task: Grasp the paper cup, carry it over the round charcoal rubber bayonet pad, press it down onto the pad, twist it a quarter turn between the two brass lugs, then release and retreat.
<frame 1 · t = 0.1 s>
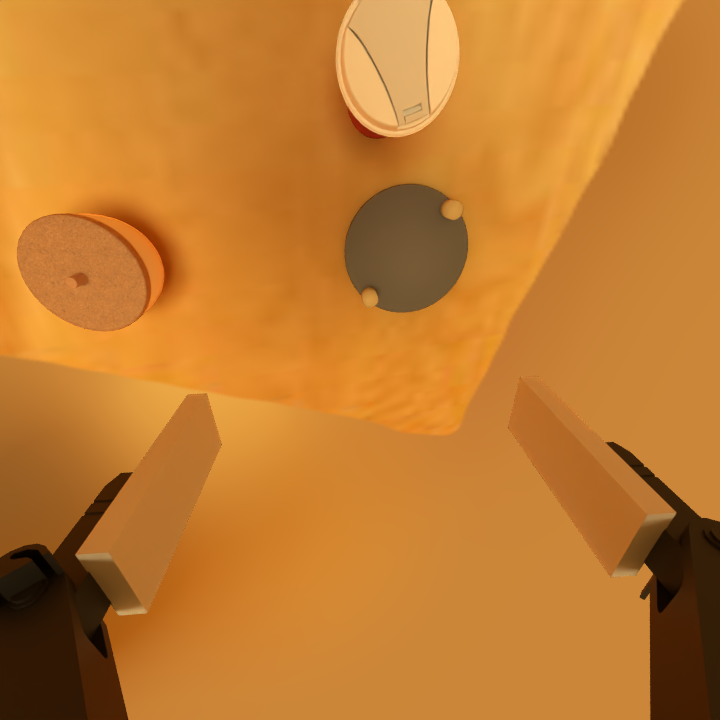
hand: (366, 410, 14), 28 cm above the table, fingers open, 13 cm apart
paper cup: (376, 103, 32), on the table
lidded jar: (130, 259, 37), on the table
bayonet pad: (405, 252, 38), on the table
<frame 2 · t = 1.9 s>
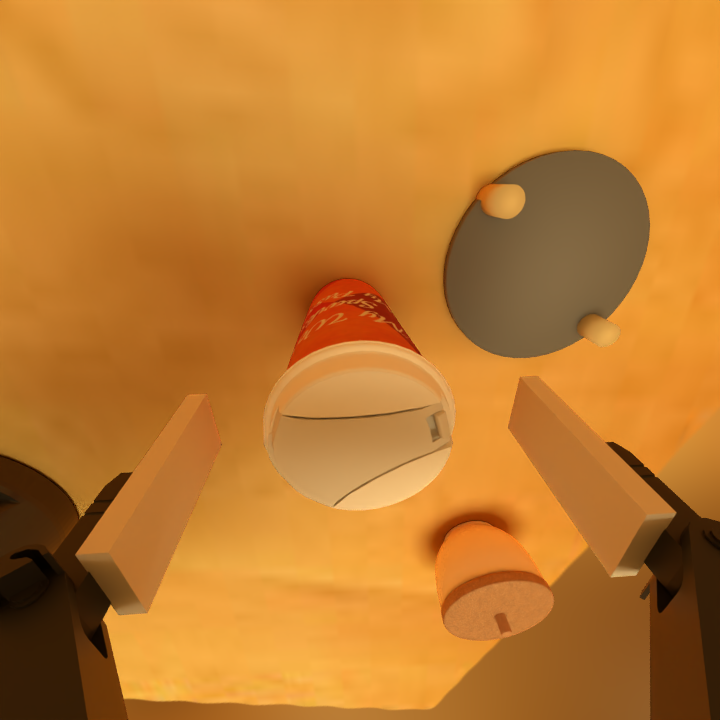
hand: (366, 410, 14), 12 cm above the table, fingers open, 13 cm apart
paper cup: (346, 314, 25), on the table
lidded jar: (469, 536, 39), on the table
bayonet pad: (540, 266, 24), on the table
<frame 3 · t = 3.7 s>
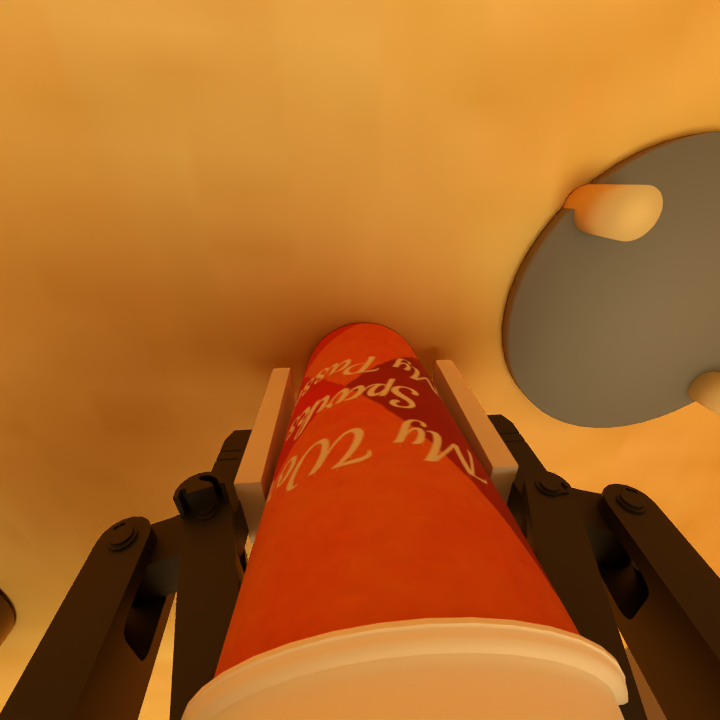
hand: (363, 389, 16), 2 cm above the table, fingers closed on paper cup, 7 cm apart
paper cup: (360, 370, 17), on the table, touching gripper
bayonet pad: (644, 304, 16), on the table
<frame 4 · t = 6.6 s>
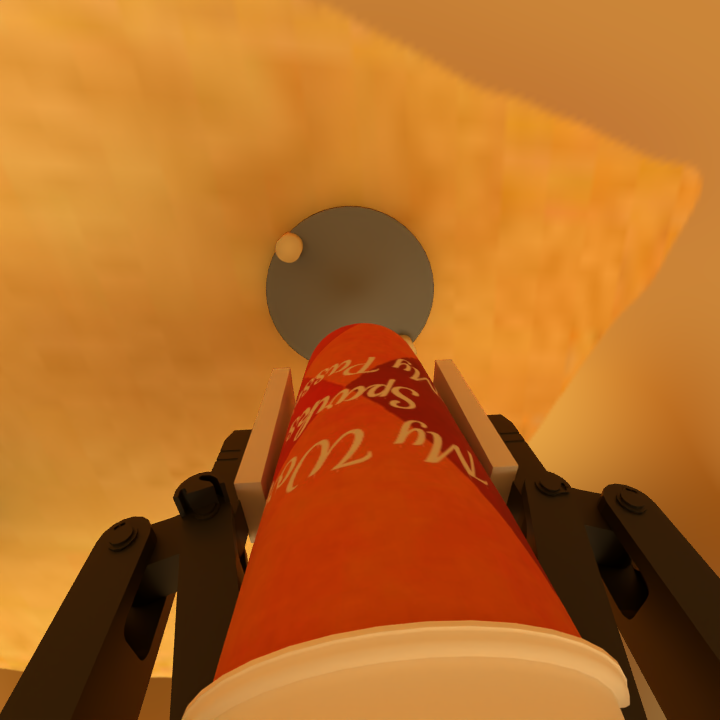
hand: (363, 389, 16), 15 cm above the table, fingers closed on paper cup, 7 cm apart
paper cup: (360, 371, 17), point 13 cm above the table, touching gripper
bayonet pad: (350, 295, 29), on the table
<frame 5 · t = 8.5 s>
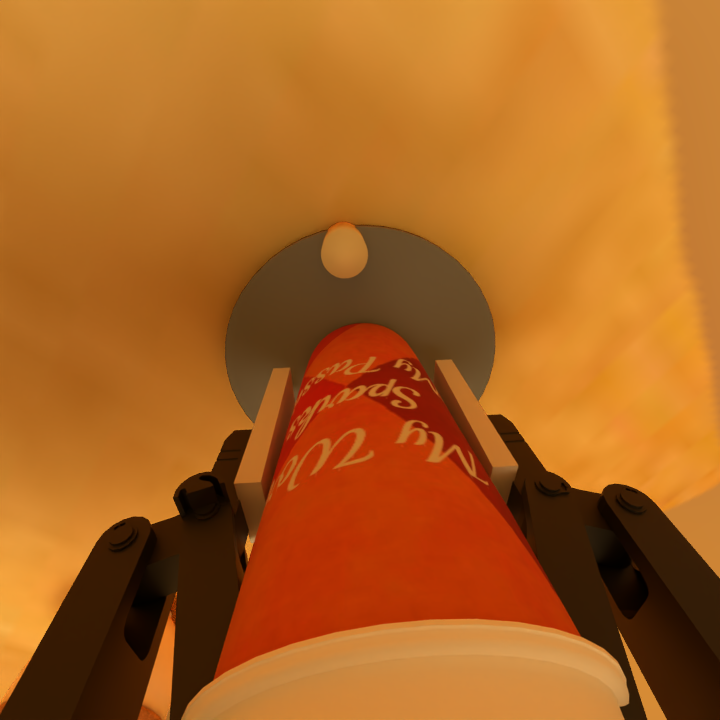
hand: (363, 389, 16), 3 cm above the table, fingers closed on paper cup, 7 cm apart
paper cup: (360, 370, 17), point 1 cm above the table, touching gripper
lidded jar: (136, 609, 29), on the table
bayonet pad: (361, 362, 18), on the table
when the fingers open (3 cm above the table, at t = 9.7 s): paper cup stays where it is, resting on bayonet pad.
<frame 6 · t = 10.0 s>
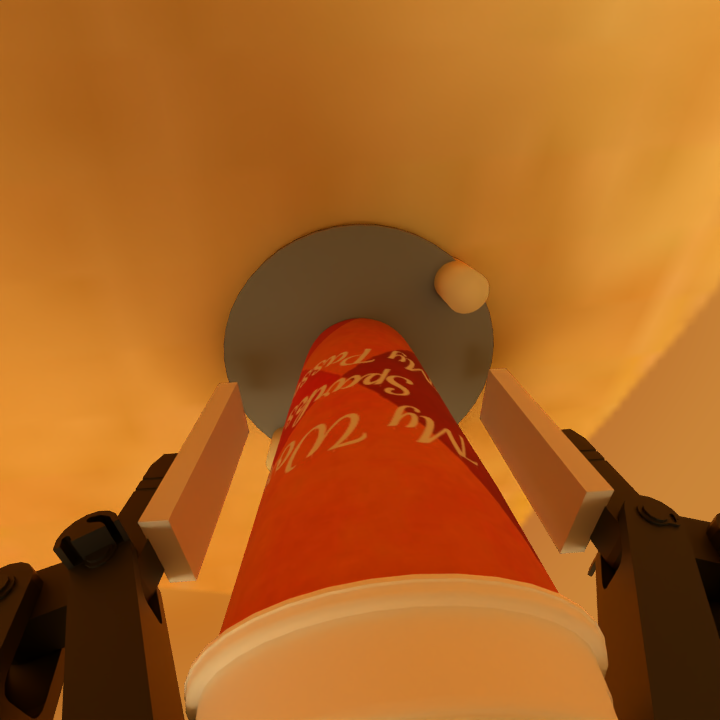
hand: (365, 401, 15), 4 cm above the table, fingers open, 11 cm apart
paper cup: (358, 365, 18), point 1 cm above the table, touching bayonet pad
bayonet pad: (360, 360, 18), on the table
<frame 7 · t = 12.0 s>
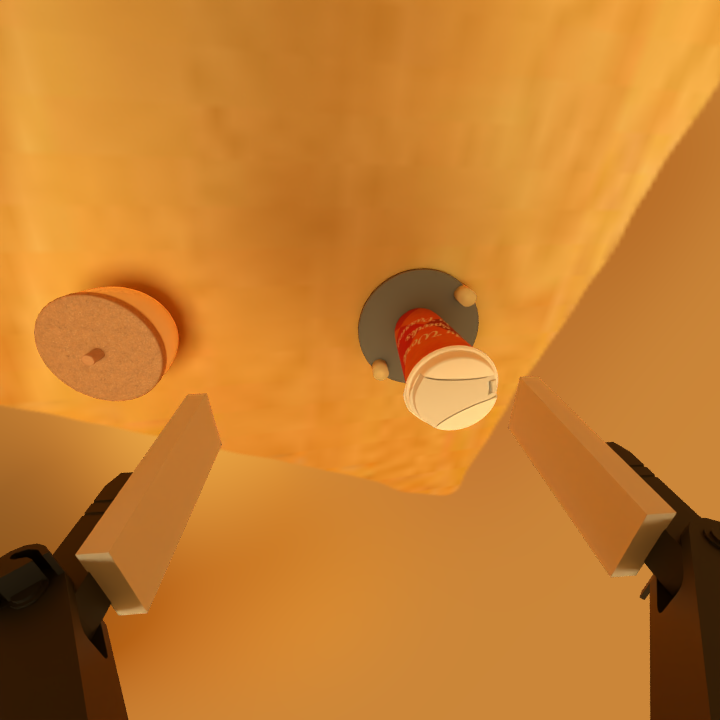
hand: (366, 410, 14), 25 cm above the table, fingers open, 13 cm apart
paper cup: (417, 330, 39), point 1 cm above the table, touching bayonet pad
lidded jar: (144, 322, 37), on the table
bayonet pad: (417, 328, 39), on the table
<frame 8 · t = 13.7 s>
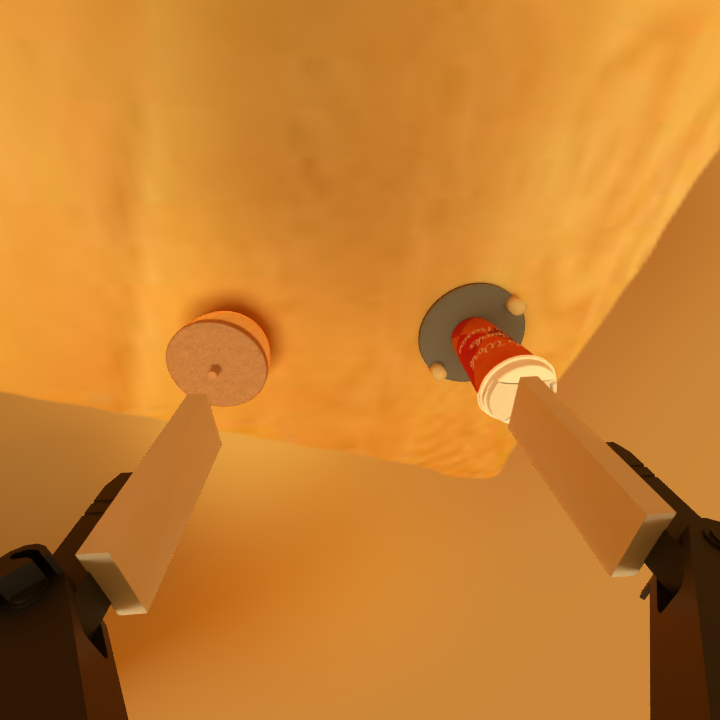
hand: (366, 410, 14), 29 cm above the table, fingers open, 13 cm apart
paper cup: (470, 335, 44), point 1 cm above the table, touching bayonet pad
lidded jar: (236, 337, 43), on the table
bayonet pad: (470, 334, 45), on the table
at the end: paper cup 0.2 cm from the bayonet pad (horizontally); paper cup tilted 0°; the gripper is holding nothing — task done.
